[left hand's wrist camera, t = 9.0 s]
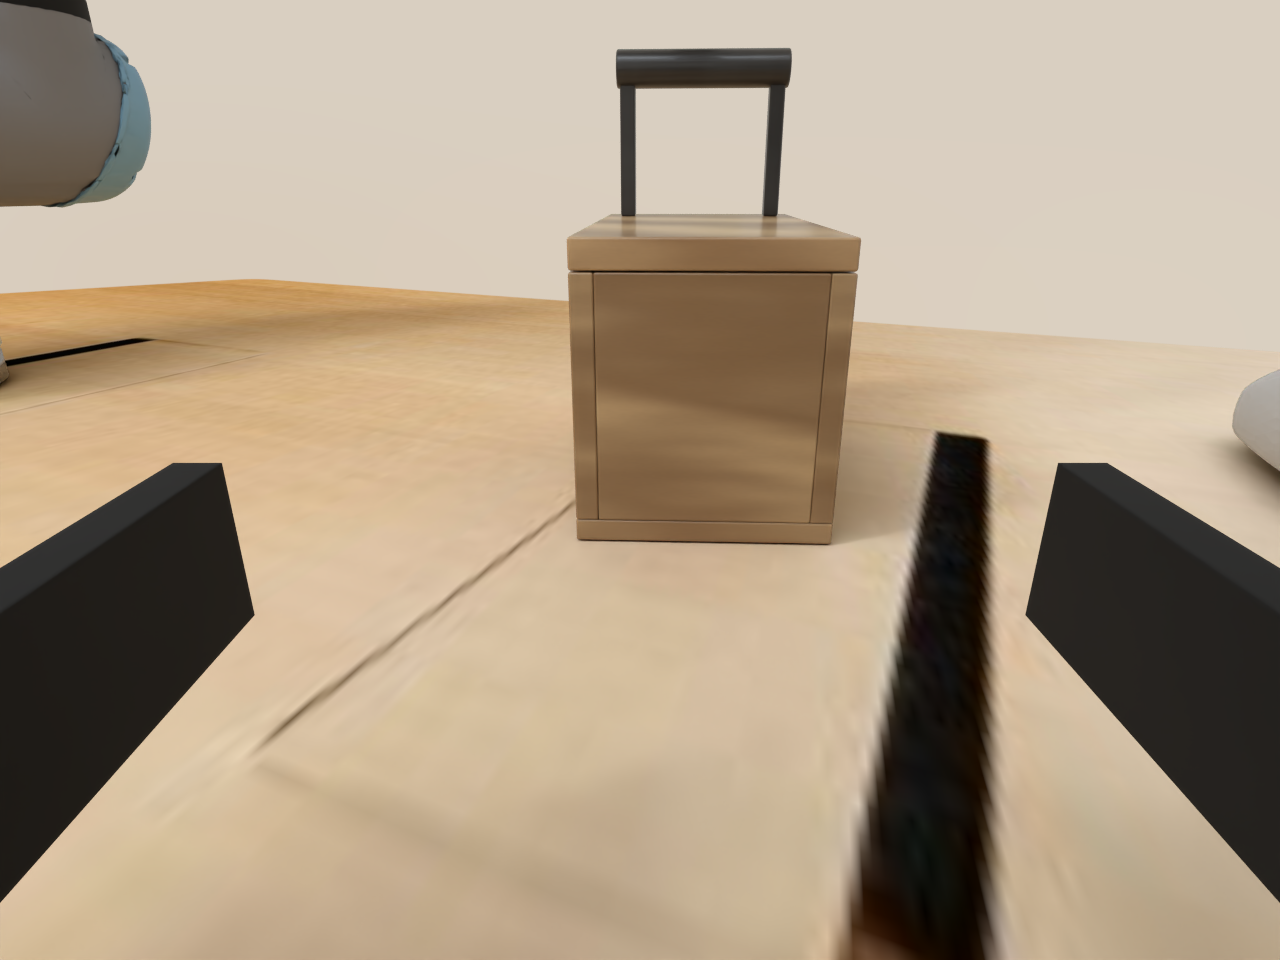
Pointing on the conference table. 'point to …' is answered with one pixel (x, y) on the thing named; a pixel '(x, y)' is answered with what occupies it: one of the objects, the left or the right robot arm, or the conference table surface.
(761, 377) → the chest
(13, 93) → the right robot arm
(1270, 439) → the projector
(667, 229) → the lid
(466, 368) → the conference table surface
